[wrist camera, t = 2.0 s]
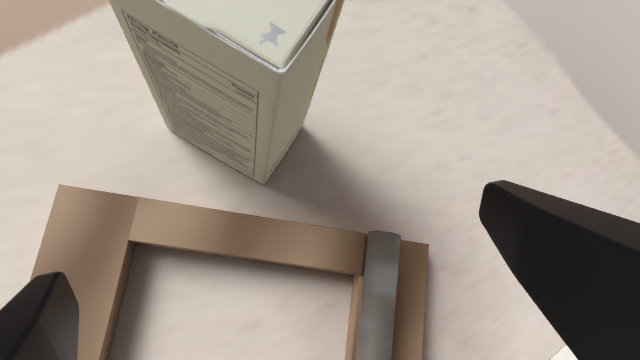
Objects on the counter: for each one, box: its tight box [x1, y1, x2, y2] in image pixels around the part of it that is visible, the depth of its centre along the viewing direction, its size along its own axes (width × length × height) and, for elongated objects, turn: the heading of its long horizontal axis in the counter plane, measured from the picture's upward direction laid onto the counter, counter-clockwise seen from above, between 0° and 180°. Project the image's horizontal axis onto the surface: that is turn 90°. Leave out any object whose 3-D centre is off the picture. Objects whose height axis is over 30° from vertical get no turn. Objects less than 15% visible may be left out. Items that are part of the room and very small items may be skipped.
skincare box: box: [109, 0, 344, 184], centre depth 18 cm, size 6×4×12 cm
